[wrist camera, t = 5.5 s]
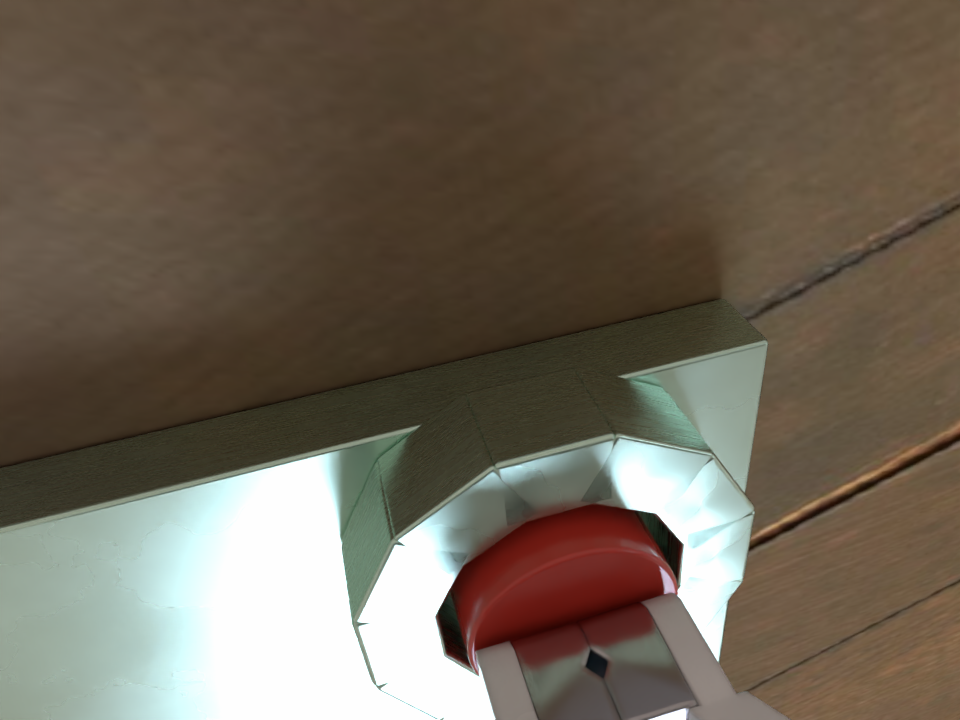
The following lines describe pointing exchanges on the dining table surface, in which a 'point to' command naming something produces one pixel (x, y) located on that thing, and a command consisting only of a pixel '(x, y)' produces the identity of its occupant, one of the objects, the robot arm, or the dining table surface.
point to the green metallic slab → (365, 526)
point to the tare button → (558, 575)
